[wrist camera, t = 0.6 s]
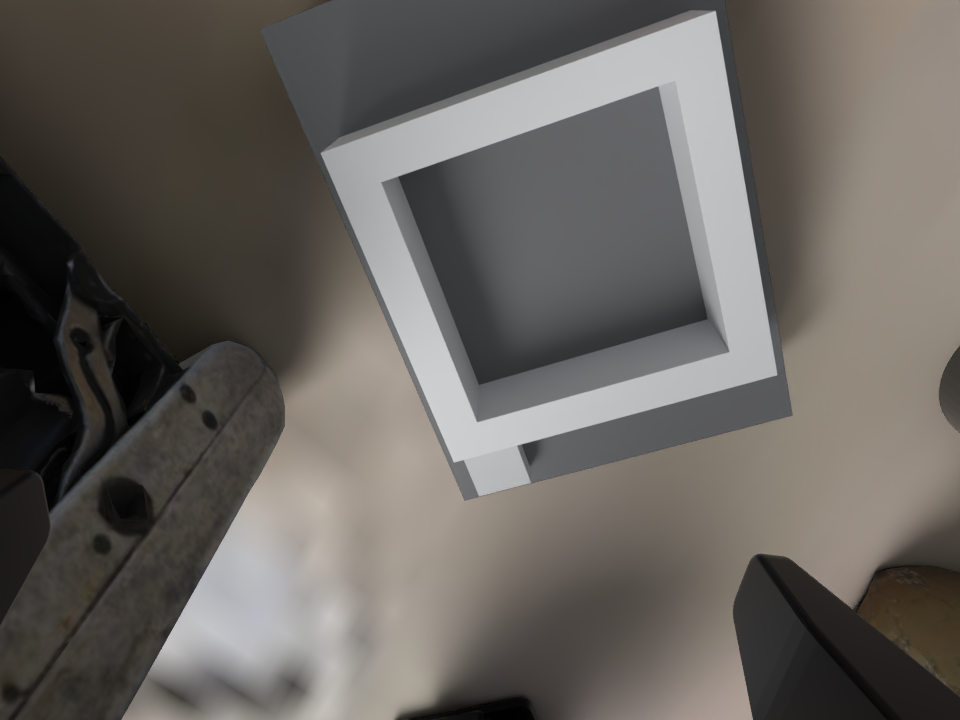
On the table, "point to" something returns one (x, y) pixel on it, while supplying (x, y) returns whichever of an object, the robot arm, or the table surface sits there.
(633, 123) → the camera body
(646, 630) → the table surface
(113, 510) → the vintage camera
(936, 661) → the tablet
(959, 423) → the lens
